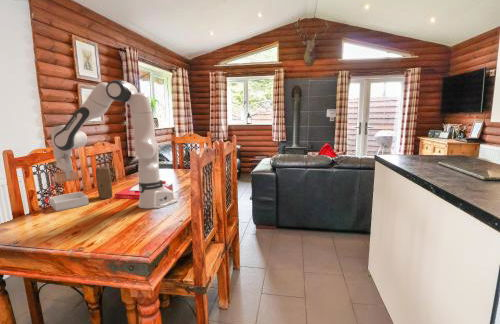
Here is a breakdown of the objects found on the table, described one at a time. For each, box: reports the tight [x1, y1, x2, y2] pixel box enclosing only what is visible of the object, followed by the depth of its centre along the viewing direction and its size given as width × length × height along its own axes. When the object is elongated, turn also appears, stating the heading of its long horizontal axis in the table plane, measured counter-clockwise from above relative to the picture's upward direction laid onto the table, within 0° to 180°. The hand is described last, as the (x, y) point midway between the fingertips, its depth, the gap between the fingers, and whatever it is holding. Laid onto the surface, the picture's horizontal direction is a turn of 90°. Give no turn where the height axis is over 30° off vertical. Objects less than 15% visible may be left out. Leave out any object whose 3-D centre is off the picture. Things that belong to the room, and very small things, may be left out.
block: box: [95, 165, 113, 200], centre depth 173 cm, size 11×8×20 cm
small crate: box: [53, 169, 79, 184], centre depth 157 cm, size 10×6×5 cm, turn 136°
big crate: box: [48, 191, 90, 212], centre depth 160 cm, size 16×16×5 cm
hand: (66, 177), depth 157 cm, fingers closed on small crate, 6 cm apart
